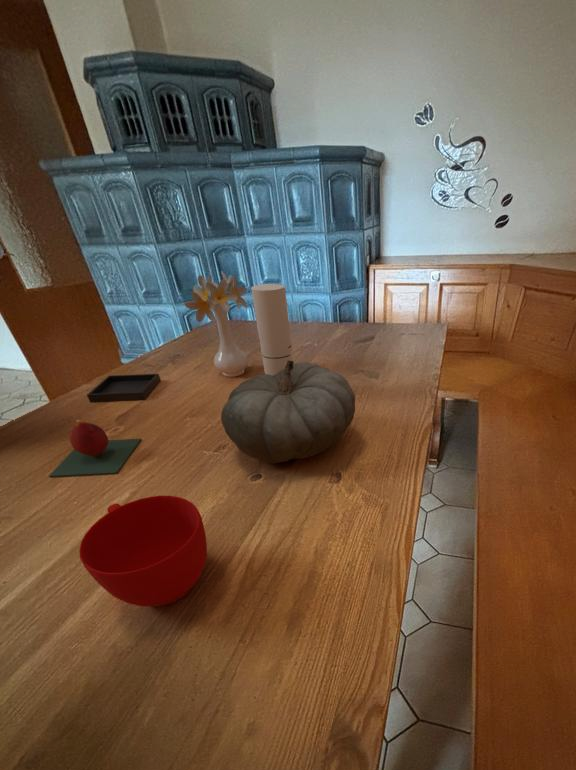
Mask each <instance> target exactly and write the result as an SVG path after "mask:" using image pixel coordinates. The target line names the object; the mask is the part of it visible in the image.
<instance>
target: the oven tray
mask: <svg viewBox="0 0 576 770" xmlns="http://www.w3.org/2000/svg"><path fill="white" fill-rule="evenodd" d="M160 382H162V379H161V376H160V374H159V373H143V374H142V373H141V374H140V373H139V374H117V375H116V374H115V375H113V374H112V375H107V376H106V377H105V378H104V379H103V380H101V382H99V383H98V384H97V385H96V386H95V387H94V388H93V389H91V391H89V392H88V393H87V394H86V397H87V398H88V401H89V402H90V403H104V402H105V403H107V402H127V401H129V402H130V401H146V399H147V398H148V397H149V396H150V394H151V393H152V392H153V391H154V390H155V389H156V387H157V386H158V385H159V384H160Z"/></svg>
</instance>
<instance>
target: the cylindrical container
mask: <svg viewBox="0 0 576 770" xmlns="http://www.w3.org/2000/svg"><path fill="white" fill-rule="evenodd" d="M250 290H251V291H250V292H251V297H252V302H253V309H254V314H255V321H256V327H257V333H258V334H257V335H258V340H259V343H260V344H259V347H260V351H261V358H262V364H263V370H264V374H269V375H272V376H273V375H276V374H277V373H279V372H280V371H281V370H283V369H285V367H286V364H287V361H289V360H290V361H294V354H293V344H292V335H291V328H290V319H289V311H288V301H287V300H288V299H287V292H286V285H284V284H281V283H261V284H256V285H253V286H251V287H250ZM293 364H295V362H294V363H293Z"/></svg>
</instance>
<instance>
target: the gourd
mask: <svg viewBox="0 0 576 770" xmlns="http://www.w3.org/2000/svg"><path fill="white" fill-rule="evenodd" d="M294 361H295V360H293V361H290V360H289V361H287V364H286V367H285V369H283V370H281V371H280V372H279V373H277V374H276V375H273V376H272V375H269V374H265V373H263V374H259V375H254V376H252V377H250V378H248V379H246V380H244V381H242V382H241V383H240V384H239V385H237V386H236V387H235V388H234V389H233V390H232V391H231V392H230V393H229V396H228V399H227V402H225V404H224V406H223V407H222V409H221V414H220V415H221V416H220V420H221V424H222V426H223V429H224V431H225V433H226V435H227V436H228V438H229V439H230V440H231V441H232V442H233V444H235V446H236V448H237V449H238V450H239V451H240V452H242V453H243V454H244V455H246V456H248V457H249V458H252V459H254V460H258V461H260V462H263V463H265V464H279V463H286V462H288V461H290V460H296V459H297V460H298V459H307V458H311V457H313V456H316V455H319V454H321V453H322V452H324V451H325V450H328V449H330V448H331V447H333V446H334V445H335V444H337V443H338V442H339V440H340V439H342V436H343V435H344V434H345V432H346V431H347V429H348V427H349V426H350V425H351V424H352V421H354V420H353V419H354V416H355V413H356V396H355V395H356V394H355V392H354V390H353V388H352V387H351V385H350V383H349V382H348V380H347V379H346V378H345V377H344V376H343V375H341V374H340V373H338V372H336V371H332V370H331V369H329V368H327V367H325V366H321V365H319V364H318V363H312V362H308V361H307V362H306V361H303V362H296V363H295V362H294ZM293 363H294V364H293Z"/></svg>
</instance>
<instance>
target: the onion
mask: <svg viewBox="0 0 576 770" xmlns="http://www.w3.org/2000/svg"><path fill="white" fill-rule="evenodd" d="M74 422H75V424H76V425H75V426H74V427H73V428H72V430H71V433H70V435H69V441H70V444H71V446H72V448H73V450H74V449H75V450H76V451H78V452H79V453H81V454H84V455H89V456H93V457H98V456H100V455H101V454H102V453H103V452H104V451H105V449H106V447H107V446H108V440H109V438H108V435H107V434H106V431H105V430H104V429H103V428H102V427H100V426H99V425H96V424H95V423H91V422H86V421H82V420H81V419H76V420H75V421H74Z"/></svg>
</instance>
